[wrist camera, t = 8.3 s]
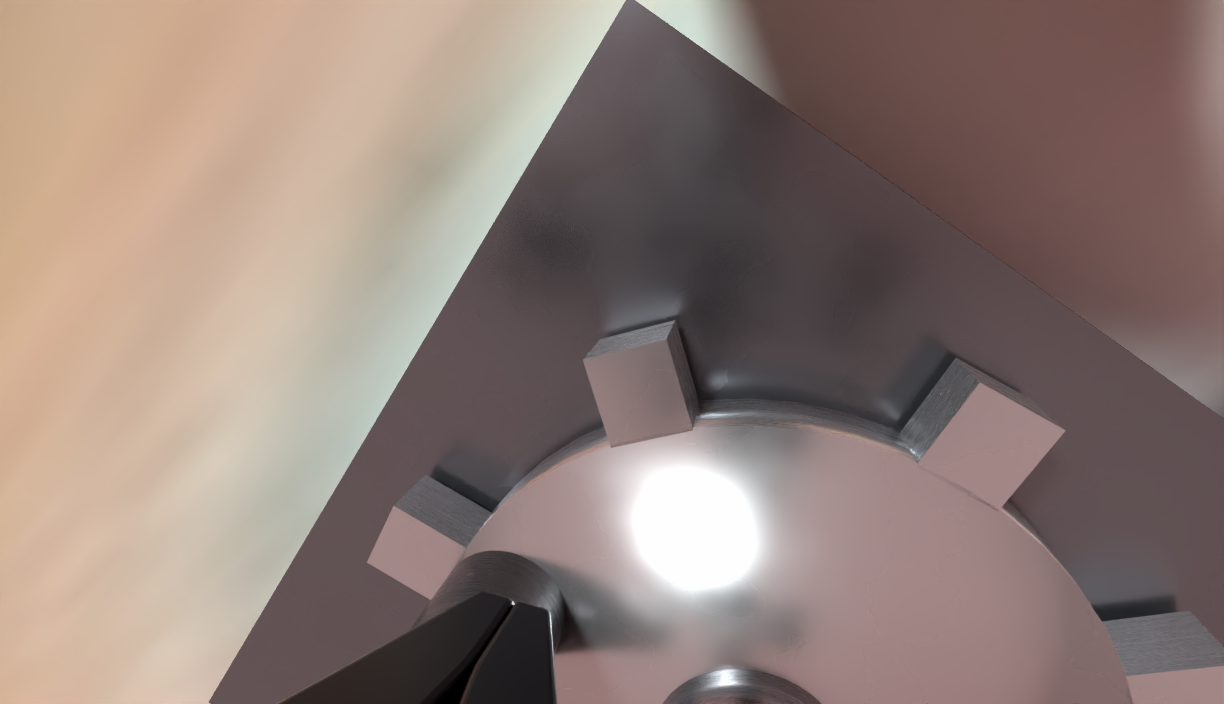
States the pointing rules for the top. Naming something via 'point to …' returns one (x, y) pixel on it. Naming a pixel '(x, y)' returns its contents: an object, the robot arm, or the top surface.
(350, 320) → the top surface
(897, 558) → the sprocket
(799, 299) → the index base
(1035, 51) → the top surface
